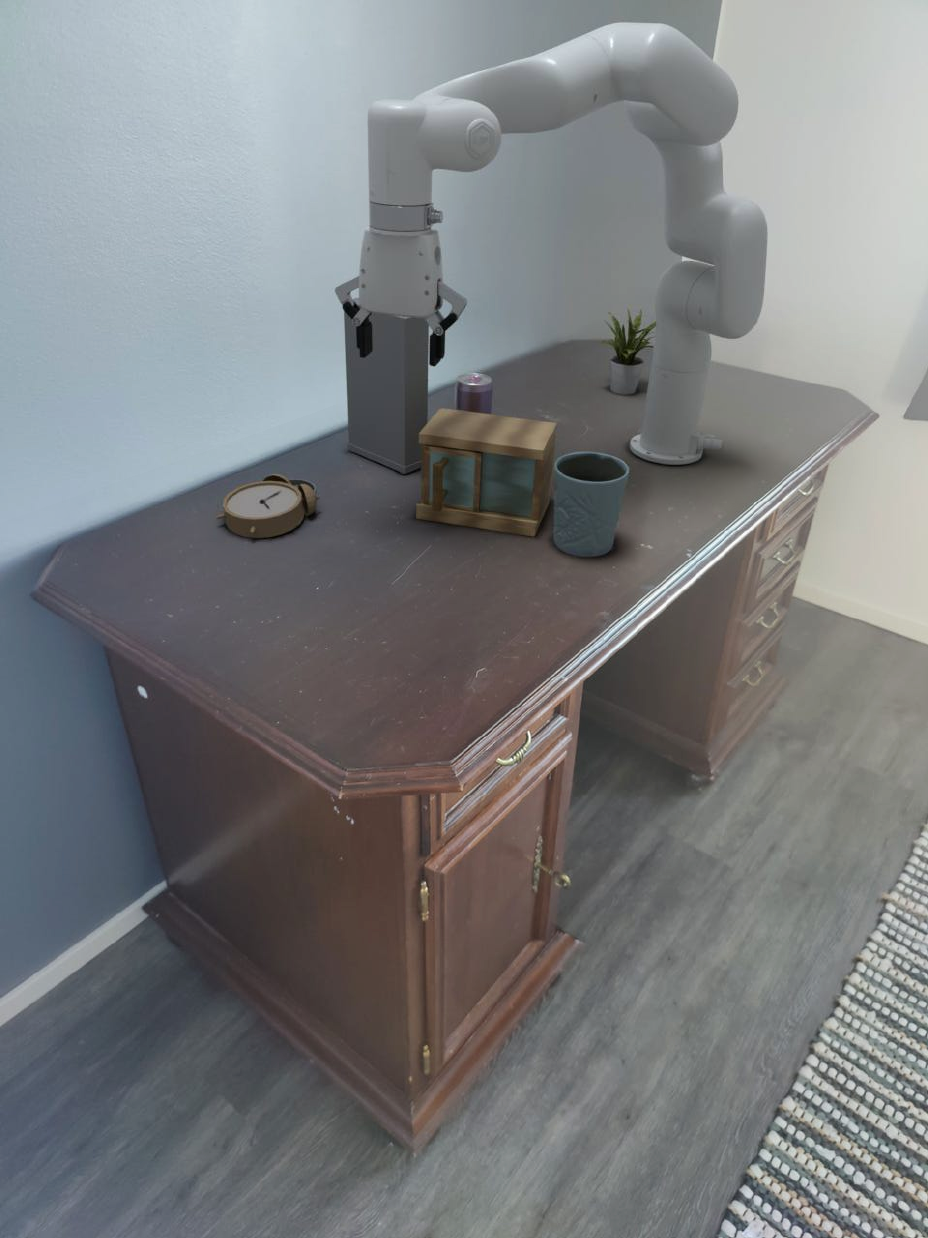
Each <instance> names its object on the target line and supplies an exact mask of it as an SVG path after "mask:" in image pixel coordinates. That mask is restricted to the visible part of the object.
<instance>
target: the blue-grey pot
mask: <svg viewBox="0 0 928 1238" xmlns="http://www.w3.org/2000/svg"><path fill="white" fill-rule="evenodd" d="M629 474H630V467H629V465H628V464H626V462H625V461H624V460H622V459H620V458H619V457H617V456H613V455H611V454H608V453H604V452H598V451H597V452H596V451H575V452H570V453H568V454H567V453H566V454H564V455H562V456H559V457H558V458H557V459H556V460H555V461H554V464H553V479H554V483H553V485H554V488H555V489H554V490H555V491H554V494H553V498H554V499H553V504H554V505H553V512H554V513H553V533H552V540H553V544H554V546H556V548H557V549H558V550H560V551H561V552H563V553H565V554H568V555H570V556H574V557H581V558H595V557H596V558H597V557H601V556H603V555H606V554H608V552H610V551H611V550H612V548H613V545H614V541H615V535H616V528H617V526H618V522H619V516H620V513H621V509H622V508H621V507H622V503H623V497H624V495H625V490H626V485H627V481H628V478H629Z"/></svg>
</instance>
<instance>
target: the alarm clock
mask: <svg viewBox="0 0 928 1238" xmlns="http://www.w3.org/2000/svg"><path fill="white" fill-rule="evenodd" d="M317 492H318V491H317V486H316V484H315V483H314V482H312V481H310V480H307V479H302V478H290V479H289V478H287V477H286V476H285V475H283V474H280V473H271V474H268V475H267V476H265V477H264V478H263V480H262V481H256V482H249V483H247V484H243V485H241V486H239V487H237V488H235V489H233V490H232V491H230V492H228V494H226V496H225V497H224V498H223V502H222V509H223V512H224V513H220V514H218V515H216V518H217V520H220V519H225V524H226V527H227V528H228V530H229V531H231V532H232V533H233V534H235V535H237V536H241V537H243V538H244V537H245V538H250V539H251V538H252V539H265V538H272V537H276V536H280V535H283V534H286V533H289V532H291V531H293V530H294V529H295V528H297V527H298V526H299V525H301V523H302V521H303V520H304V518H305V516H307V517H308V516H310V515H312V514H313V513H315V511H316V509H317V505H318V504H317V503H318V500H319V499H321V498H320V496H319V495H317V494H318V493H317Z"/></svg>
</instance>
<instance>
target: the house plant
mask: <svg viewBox="0 0 928 1238" xmlns="http://www.w3.org/2000/svg"><path fill="white" fill-rule="evenodd" d="M642 312H643V311H642V309H640V310H639V312H638V314H637V316H636V317H635V318H634V320H632V316H631V313H630V310H629V309H627V316H628V320H627V322H628V328H627V329H628V330H627V337H626V327H625V325H624V324H622V326H621V325H620V321H619V320H618V319H617V317H615V316H614V314H613V313H611V312H610V311H608V312H607V313H608V315H609V316H610V318H611V321H612V323H613V326H614V328H613V326H612V325H611V324H610V323H609V322H608V321H605V320H604V323H605V324H606V325H607V326H608V328H609V329H610V330H611V332H612V334H614V339H606V340H602V341H600V342H599V344H605V345H609V346H612V348H613V349H614V351H615V353H616V355H613V356H610V357H609V361H608V362H609V384H610V385H609V389H610V391H611V392H612V393H614V394H618V395H624V396H625V395H632V394H635V393H636V392H637V389H638V384H639V381H640V377H641V375H642V373H643V372H642V371H643V369H644V366H645V360H644V359H642V358H640V356H641V355H639V356H636V355H638V353H639V352H640V351H641V350H643V349H646V348H650V349H654V344H653V343H651V342H650V340H652V338H653V339H654V338H655V335H654V336H649V337H647V336H648V335H650V334H655V333H656V331H652V330H653V329H655V328H656V320H655V321H654V322H652V323H650V324H649V325H648V326H647V327H645V328H642V329H640V326H641V324H642V316H643V313H642ZM639 329H640V330H639ZM639 333H640V335H639V336H638V337H637V335H638V334H639ZM646 337H647V338H646ZM650 344H652V345H650ZM650 349H647V350H646V352H648V351H649V350H650Z"/></svg>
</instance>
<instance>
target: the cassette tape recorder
mask: <svg viewBox="0 0 928 1238" xmlns="http://www.w3.org/2000/svg"><path fill="white" fill-rule="evenodd" d="M352 300H353V301H354V302H355V303H356V304H357V305H358V306H359V308H360V309H361V308H362V307H361V305H360V301H359V297H355V298H352ZM343 321H344V346H345V347H344V348H345V373H346V374H345V377H346V378H345V379H346V404H347V430H348V431H347V433H348V442H347V450H349V452H350V453H355V454H357V455H360V456H362V457H364V458H367V459H369V460H372V461H374V462H376V463H378V464H380V465H383V466H385V467H387V468H391V469H392V470H395V471H397V472H399V473H400V474H403V475H407V474H409V473H411V472H413V471H416V470H419V469H421V458H422V444H421V443H419V433H420V432H421V430H422V429H423V428H424V427H425V426H426V424H427V423H428V420H429V419H428V416H429V415H428V414H429V413H428V411H429V410H428V409H429V408H428V407H429V349H430V326H429V324H428V323H427V322H426V320H425V319H424V318H412V317H403V316H394V315H386V314H377V313H372V315H371V316H370V317H369V321H371V323H372V337H373V351H372V352H371V353H370V354H369V355H368V356H366V357H365V358H361V357H360V349H358V348H357V341H356V326H355V325H354V324H353V323H352V319H351V318H350V317H349V316H348V315H347V314H346V312H345V311H344V310H343Z"/></svg>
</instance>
